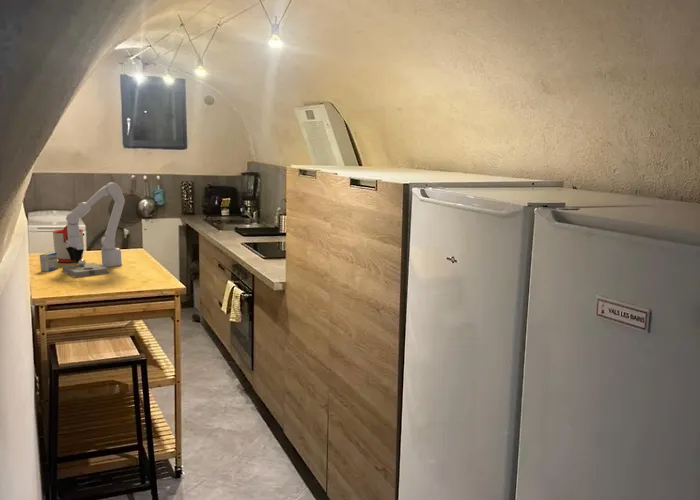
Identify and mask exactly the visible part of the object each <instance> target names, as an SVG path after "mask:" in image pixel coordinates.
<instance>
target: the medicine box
mask: <svg viewBox="0 0 700 500" xmlns="http://www.w3.org/2000/svg"><path fill="white" fill-rule="evenodd" d="M39 260H40V261H39V263H40V271H41V272H51V270H52V271H54V270H57V269H58V268H59V265H58V264H59V263H58V259H57V253H56V252H55V251H52V252H45V253H43V254H39Z"/></svg>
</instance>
